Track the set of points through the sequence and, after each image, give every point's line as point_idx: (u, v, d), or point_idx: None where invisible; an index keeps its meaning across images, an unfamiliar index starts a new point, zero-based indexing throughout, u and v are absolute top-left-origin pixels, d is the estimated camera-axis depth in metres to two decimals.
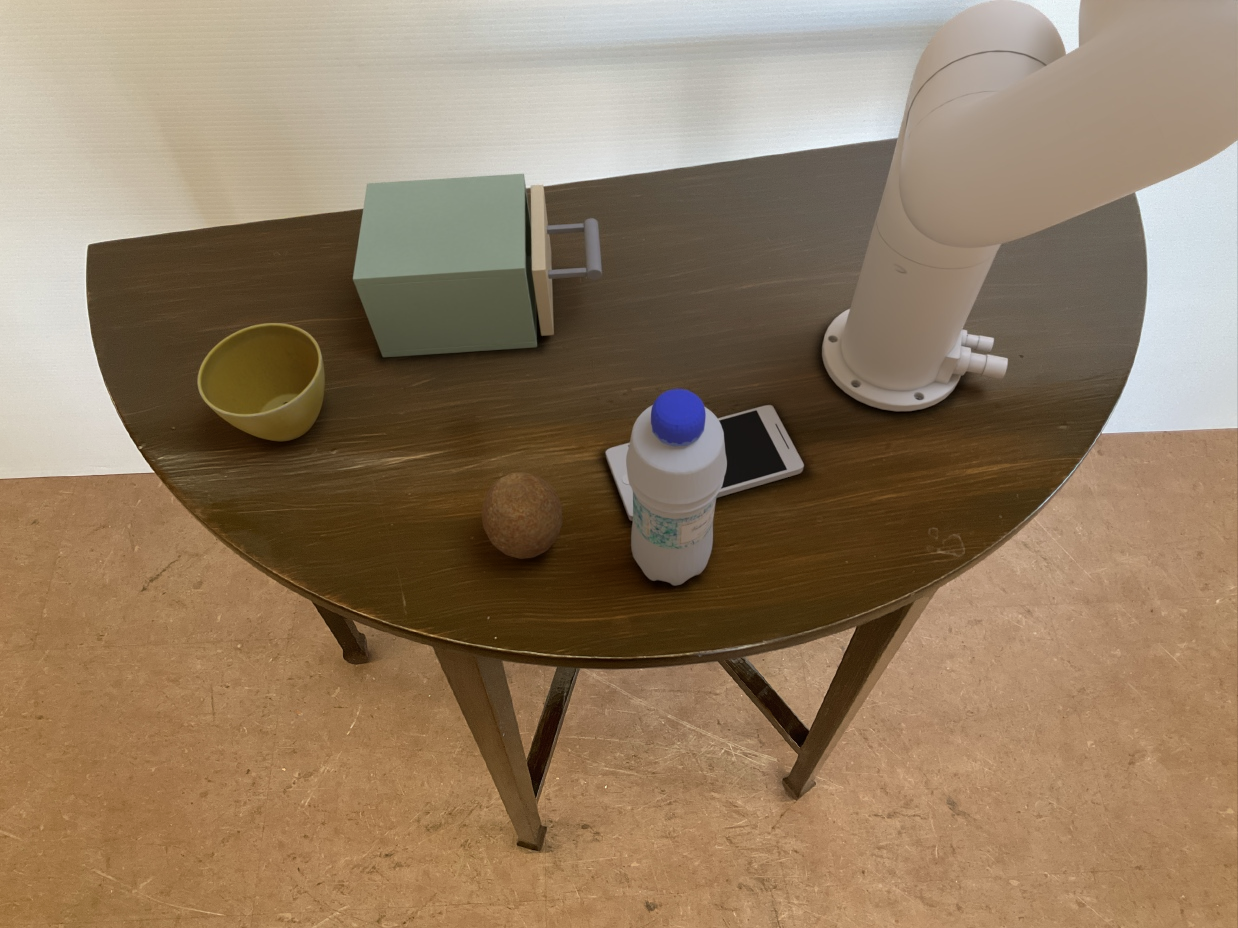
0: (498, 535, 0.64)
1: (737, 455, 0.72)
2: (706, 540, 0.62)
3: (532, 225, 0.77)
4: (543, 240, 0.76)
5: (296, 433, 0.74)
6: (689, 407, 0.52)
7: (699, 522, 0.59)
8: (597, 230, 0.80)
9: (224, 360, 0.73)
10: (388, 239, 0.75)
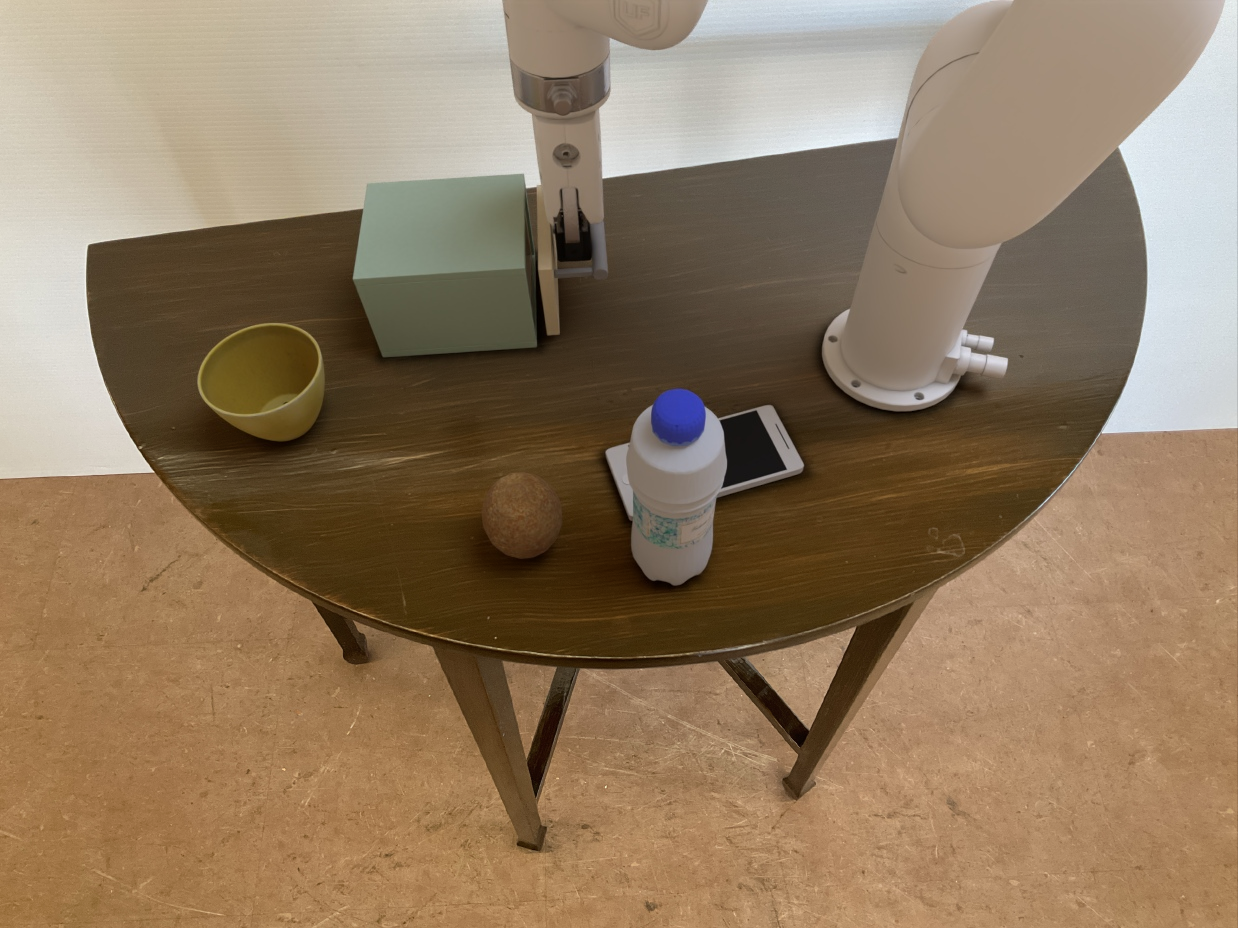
0: (498, 535, 0.64)
1: (737, 455, 0.72)
2: (706, 540, 0.62)
3: (538, 225, 0.77)
4: (549, 240, 0.76)
5: (296, 433, 0.74)
6: (689, 407, 0.52)
7: (699, 522, 0.59)
8: (603, 230, 0.80)
9: (224, 360, 0.73)
10: (388, 239, 0.75)
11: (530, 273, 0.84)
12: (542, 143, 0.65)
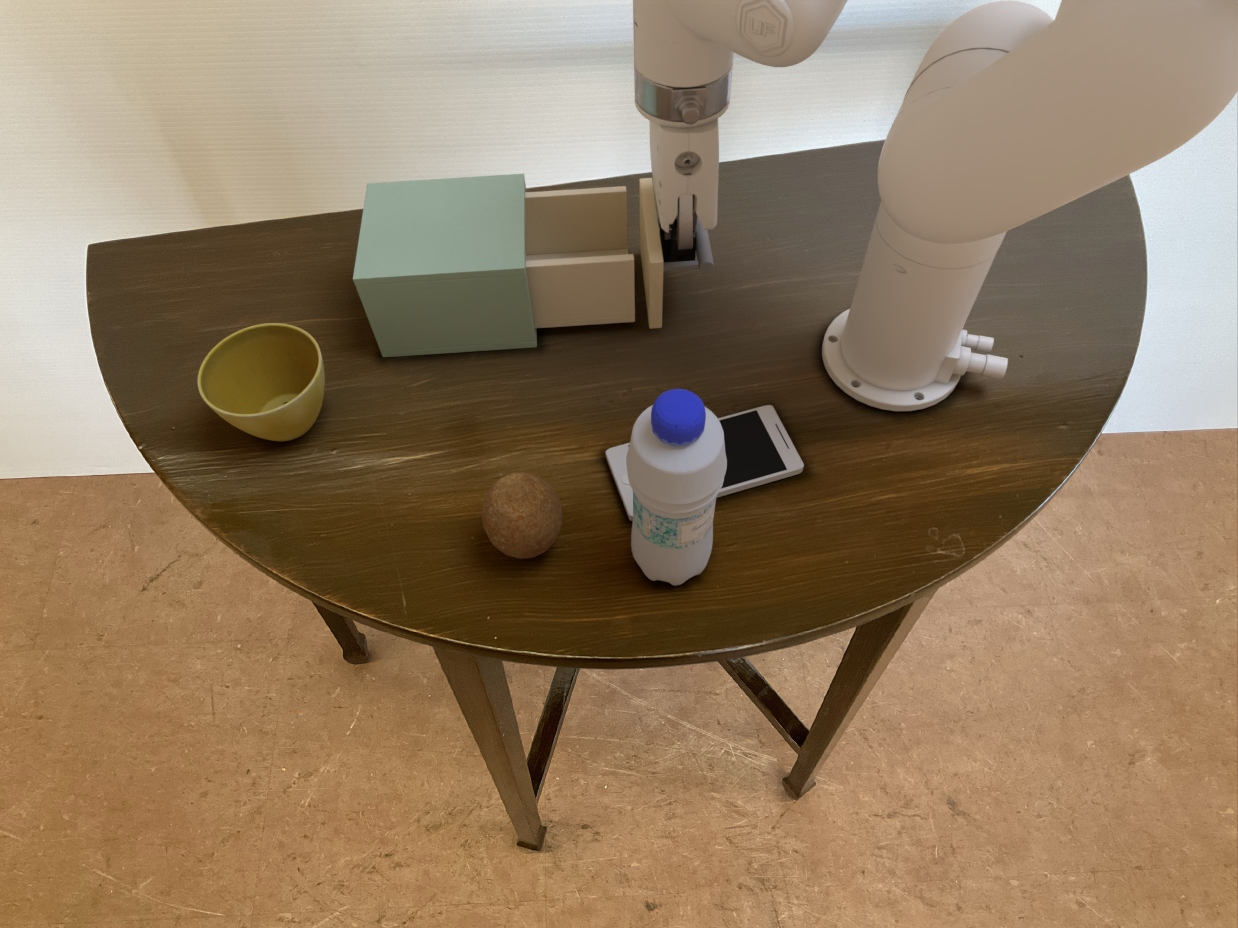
0: (498, 535, 0.64)
1: (737, 455, 0.72)
2: (706, 540, 0.62)
3: (645, 218, 0.77)
4: (658, 233, 0.76)
5: (296, 433, 0.74)
6: (689, 407, 0.52)
7: (699, 522, 0.59)
8: None
9: (224, 360, 0.73)
10: (388, 239, 0.75)
11: None
12: (665, 152, 0.66)
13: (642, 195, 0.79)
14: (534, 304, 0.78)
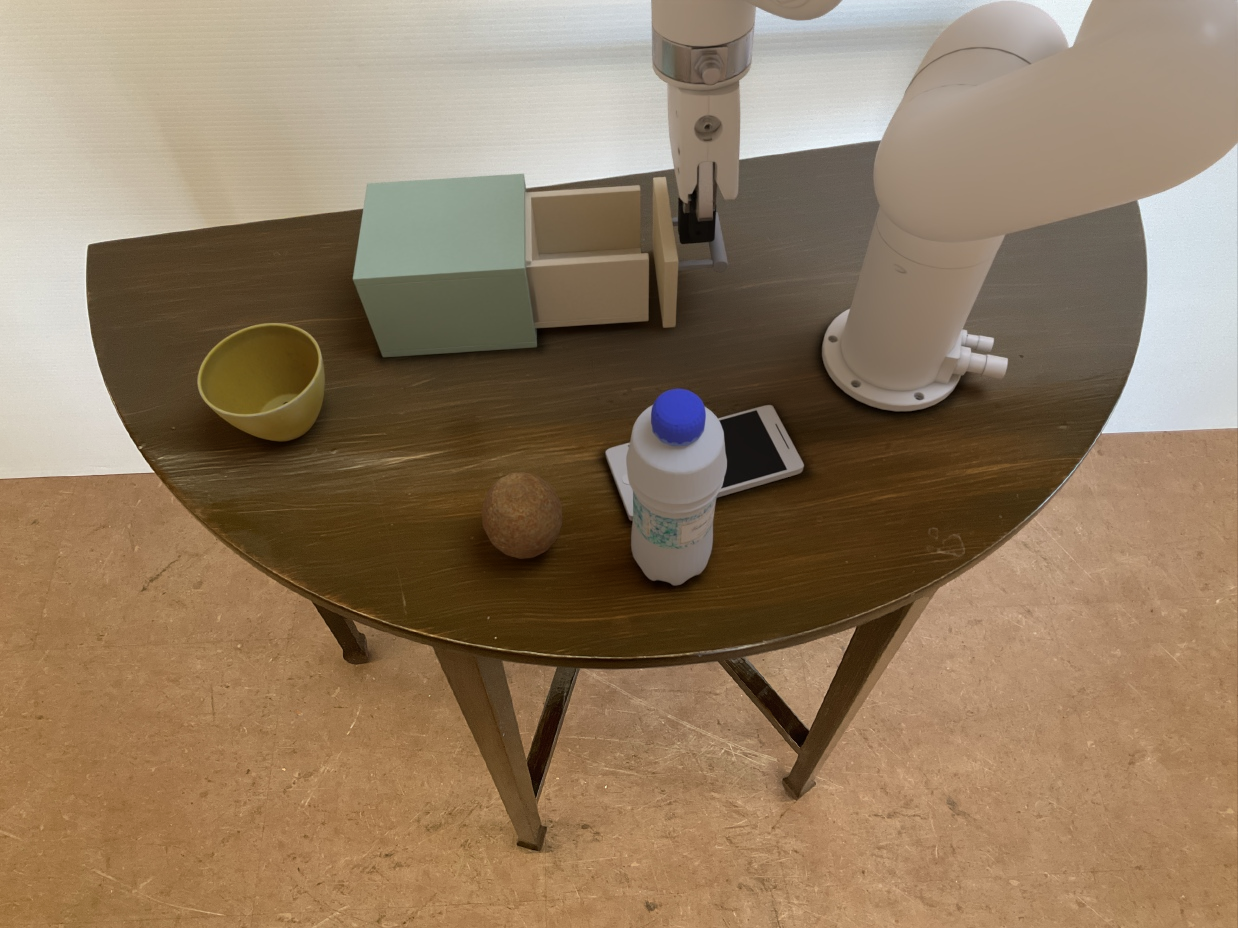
0: (498, 535, 0.64)
1: (737, 455, 0.72)
2: (706, 540, 0.62)
3: (659, 217, 0.77)
4: (672, 232, 0.76)
5: (296, 433, 0.74)
6: (689, 407, 0.52)
7: (699, 522, 0.59)
8: (719, 222, 0.81)
9: (224, 360, 0.73)
10: (388, 239, 0.75)
11: None
12: (684, 116, 0.64)
13: (656, 194, 0.79)
14: (548, 303, 0.78)
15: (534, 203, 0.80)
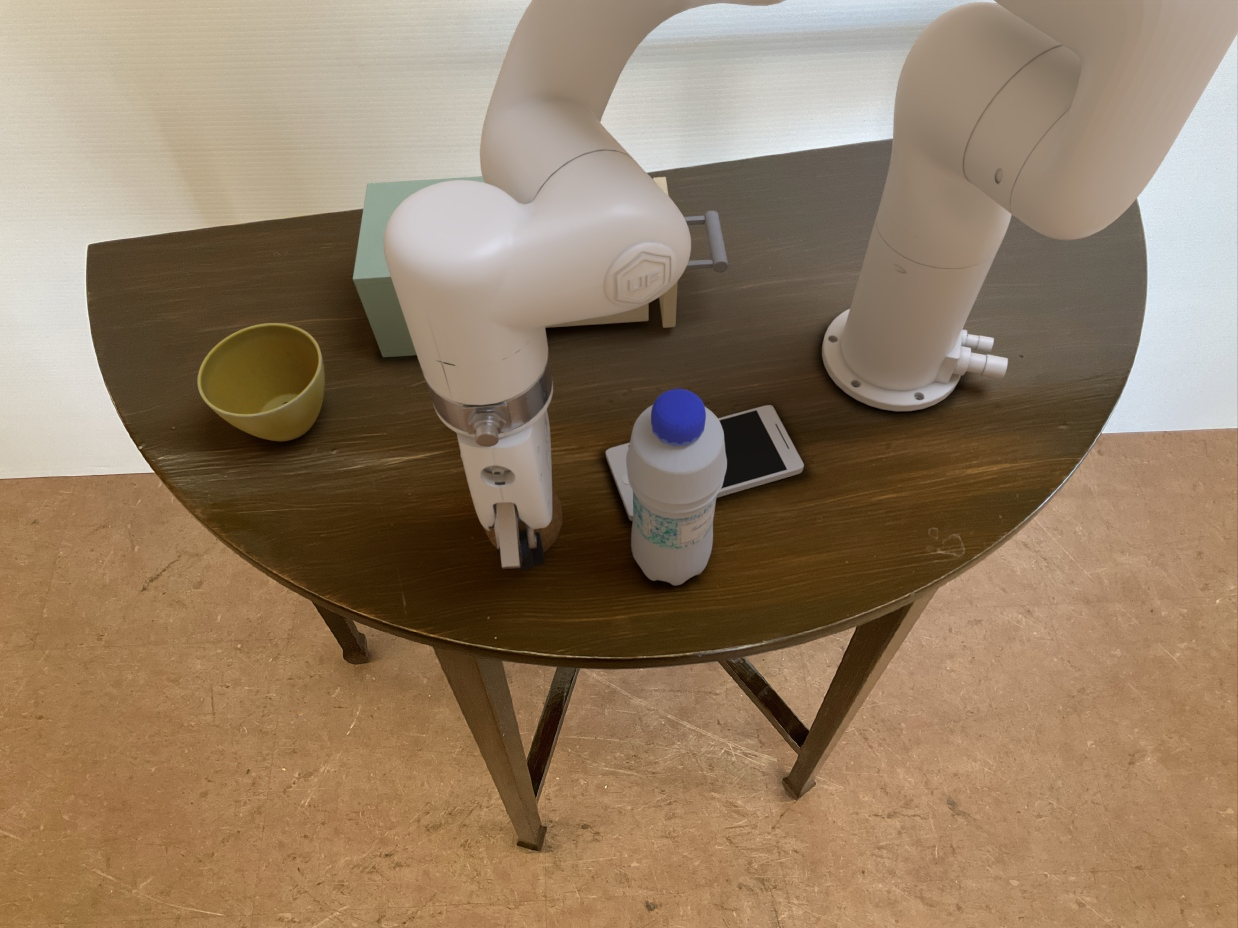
0: None
1: (737, 455, 0.72)
2: (706, 540, 0.62)
3: None
4: None
5: (296, 433, 0.74)
6: (689, 407, 0.52)
7: (699, 522, 0.59)
8: (719, 222, 0.81)
9: (224, 360, 0.73)
10: None
11: None
12: (467, 463, 0.52)
13: None
14: None
15: None
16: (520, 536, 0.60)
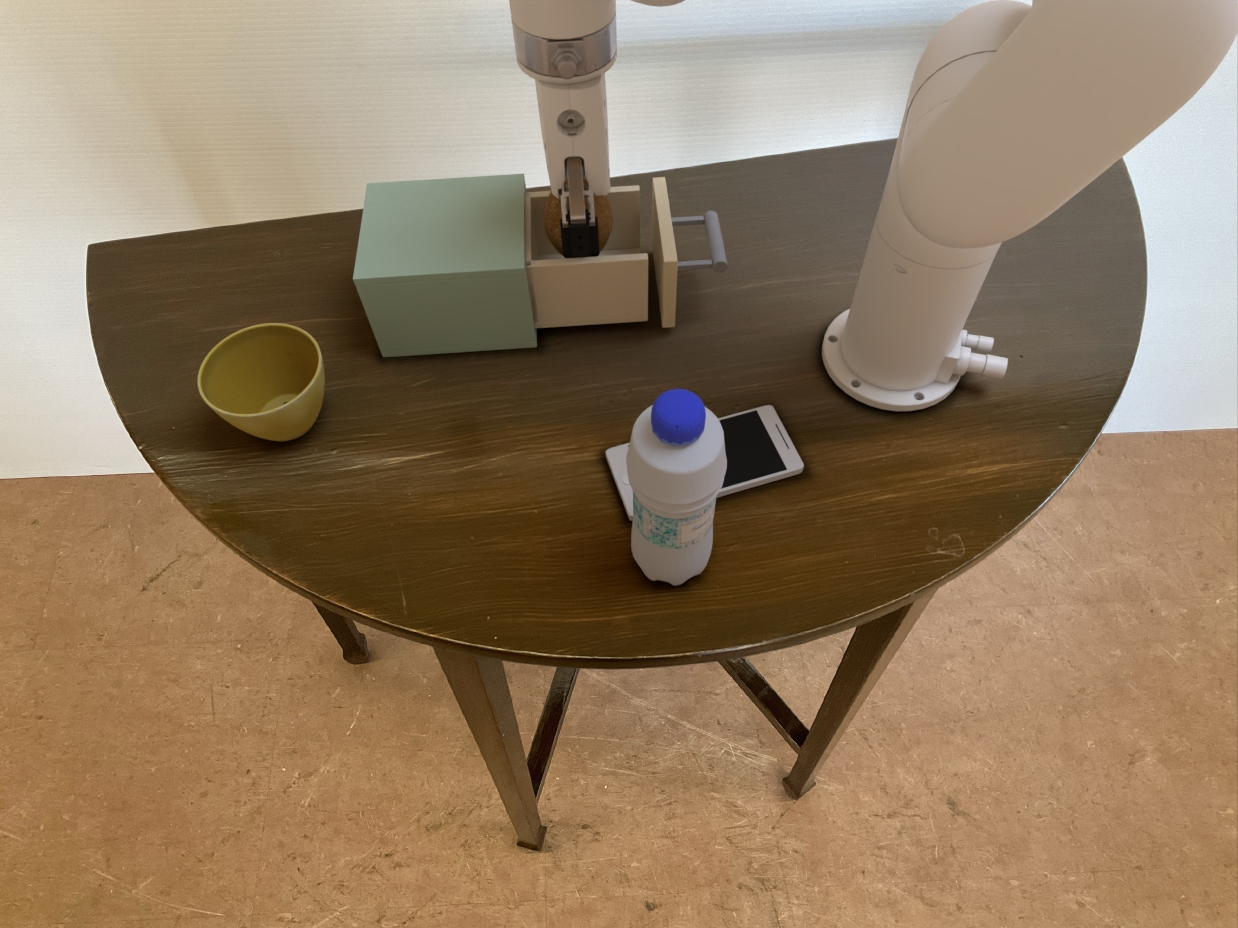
0: (559, 226, 0.74)
1: (737, 455, 0.72)
2: (706, 540, 0.62)
3: (659, 217, 0.77)
4: (672, 232, 0.76)
5: (296, 433, 0.74)
6: (689, 407, 0.52)
7: (699, 522, 0.59)
8: (718, 222, 0.81)
9: (224, 360, 0.73)
10: (388, 239, 0.75)
11: None
12: (546, 110, 0.63)
13: (655, 194, 0.79)
14: (547, 303, 0.78)
15: (533, 203, 0.80)
16: None
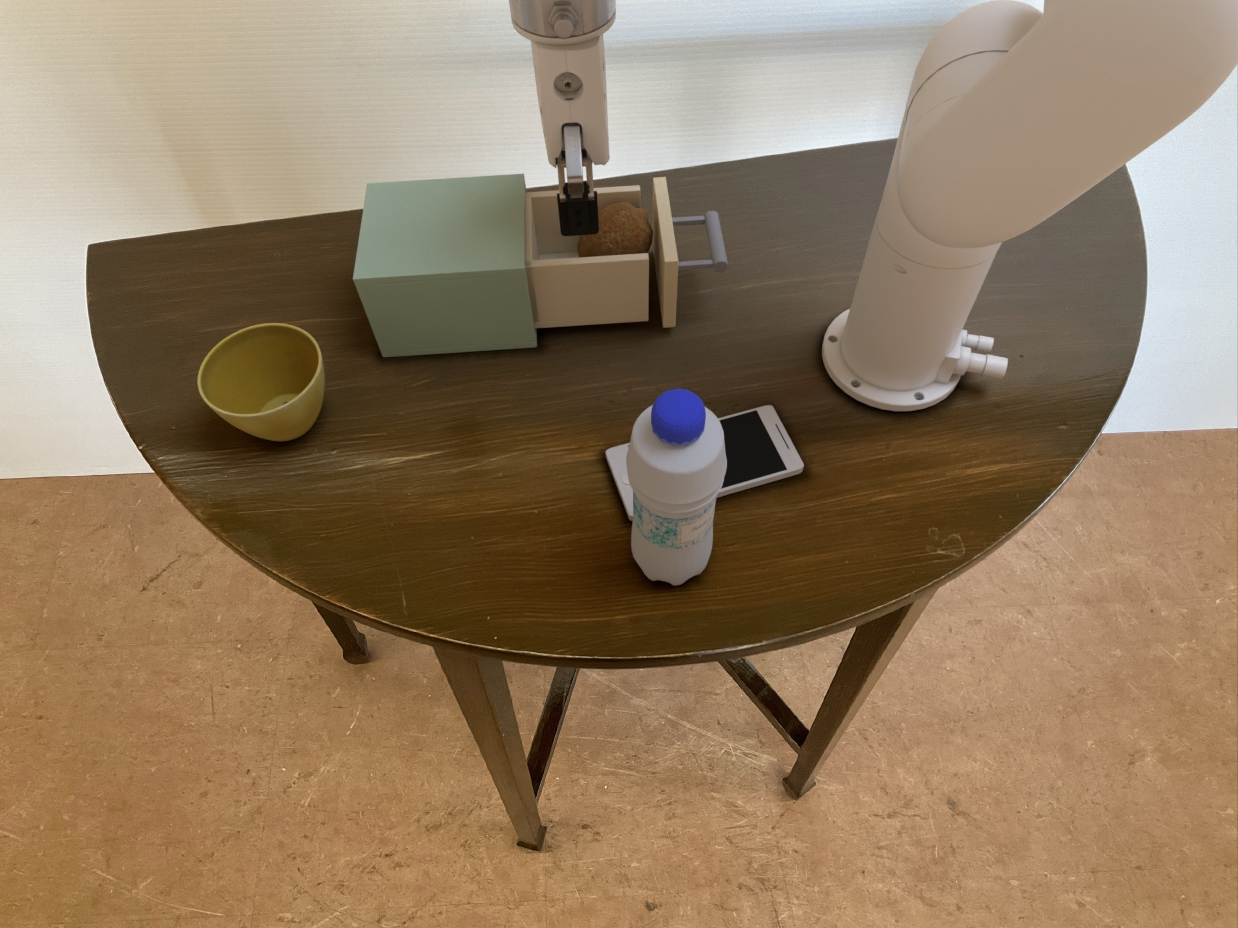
0: (618, 233, 0.77)
1: (737, 455, 0.72)
2: (706, 540, 0.62)
3: (659, 217, 0.77)
4: (672, 232, 0.76)
5: (296, 433, 0.74)
6: (689, 407, 0.52)
7: (699, 522, 0.59)
8: (719, 222, 0.81)
9: (224, 360, 0.73)
10: (388, 239, 0.75)
11: None
12: (542, 72, 0.60)
13: (656, 194, 0.79)
14: (548, 303, 0.78)
15: (534, 203, 0.80)
16: None
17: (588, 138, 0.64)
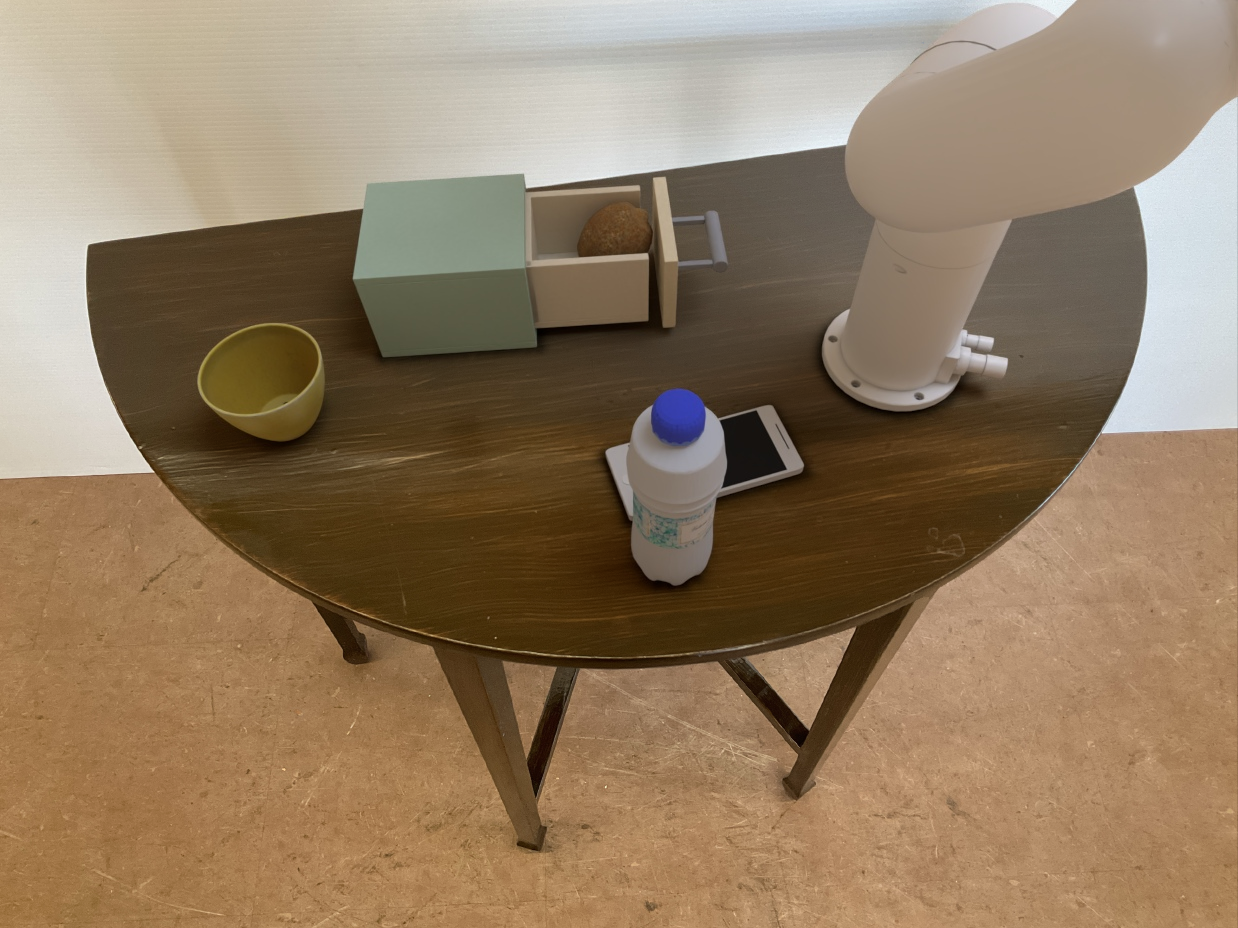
0: (618, 233, 0.77)
1: (737, 455, 0.72)
2: (706, 540, 0.62)
3: (659, 217, 0.77)
4: (672, 232, 0.76)
5: (296, 433, 0.74)
6: (689, 407, 0.52)
7: (699, 522, 0.59)
8: (719, 222, 0.81)
9: (224, 360, 0.73)
10: (388, 239, 0.75)
11: None
12: None
13: (656, 194, 0.79)
14: (548, 303, 0.78)
15: (534, 203, 0.80)
16: None
17: None
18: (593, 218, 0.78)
